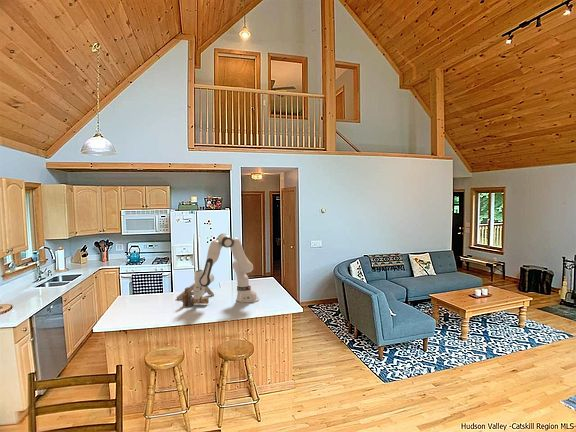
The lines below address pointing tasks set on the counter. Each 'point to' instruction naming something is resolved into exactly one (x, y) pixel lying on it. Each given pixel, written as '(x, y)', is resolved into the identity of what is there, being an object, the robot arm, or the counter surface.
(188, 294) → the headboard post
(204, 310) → the counter surface
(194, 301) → the rail
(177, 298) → the wall bracket
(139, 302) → the counter surface
